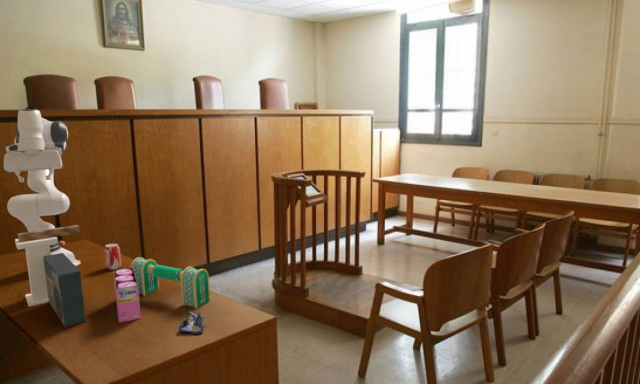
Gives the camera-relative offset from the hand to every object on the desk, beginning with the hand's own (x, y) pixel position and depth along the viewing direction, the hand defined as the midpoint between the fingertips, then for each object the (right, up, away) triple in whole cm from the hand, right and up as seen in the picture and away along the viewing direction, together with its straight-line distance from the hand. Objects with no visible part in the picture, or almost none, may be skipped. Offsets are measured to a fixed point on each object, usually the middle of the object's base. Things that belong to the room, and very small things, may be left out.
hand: (35, 181), depth 183 cm
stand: (-1, -49, +7) cm, 50 cm away
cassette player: (+16, -52, -6) cm, 55 cm away
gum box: (+40, -51, -4) cm, 65 cm away
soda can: (+12, -43, +43) cm, 62 cm away
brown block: (+3, -23, +5) cm, 24 cm away
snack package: (+71, -54, -20) cm, 91 cm away
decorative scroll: (+53, -49, +7) cm, 72 cm away
